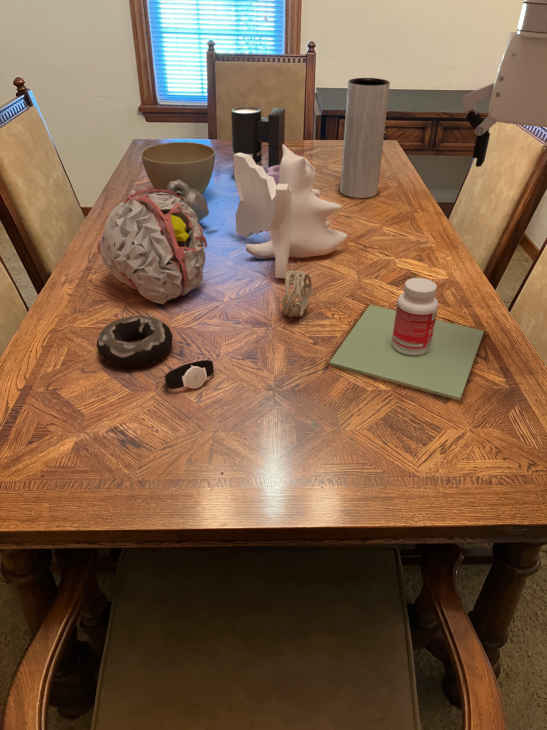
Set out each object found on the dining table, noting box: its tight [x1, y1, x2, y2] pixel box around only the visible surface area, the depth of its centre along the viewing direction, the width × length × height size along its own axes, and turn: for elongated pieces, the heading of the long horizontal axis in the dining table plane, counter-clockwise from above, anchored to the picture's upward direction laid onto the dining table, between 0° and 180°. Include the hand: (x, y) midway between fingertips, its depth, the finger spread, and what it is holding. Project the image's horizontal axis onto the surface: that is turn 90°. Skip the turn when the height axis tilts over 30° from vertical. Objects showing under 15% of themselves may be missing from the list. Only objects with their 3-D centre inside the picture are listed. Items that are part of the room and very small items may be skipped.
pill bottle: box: [392, 277, 439, 355], centre depth 89 cm, size 6×6×11 cm
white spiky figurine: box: [232, 143, 348, 279], centre depth 116 cm, size 25×21×21 cm
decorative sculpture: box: [97, 188, 208, 305], centre depth 105 cm, size 19×21×20 cm
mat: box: [328, 304, 485, 402], centre depth 92 cm, size 20×20×1 cm
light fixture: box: [230, 106, 286, 179], centre depth 158 cm, size 10×14×18 cm
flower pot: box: [140, 141, 216, 196], centre depth 145 cm, size 18×18×12 cm
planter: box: [339, 77, 391, 199], centre depth 146 cm, size 10×10×27 cm
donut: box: [96, 315, 174, 369], centre depth 90 cm, size 12×12×4 cm
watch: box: [164, 359, 215, 390], centre depth 84 cm, size 8×5×4 cm, turn 126°
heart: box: [167, 180, 210, 223], centre depth 130 cm, size 10×10×12 cm
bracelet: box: [281, 269, 313, 318], centre depth 99 cm, size 4×8×8 cm, turn 166°
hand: (516, 168), depth 77 cm, fingers open, 9 cm apart
